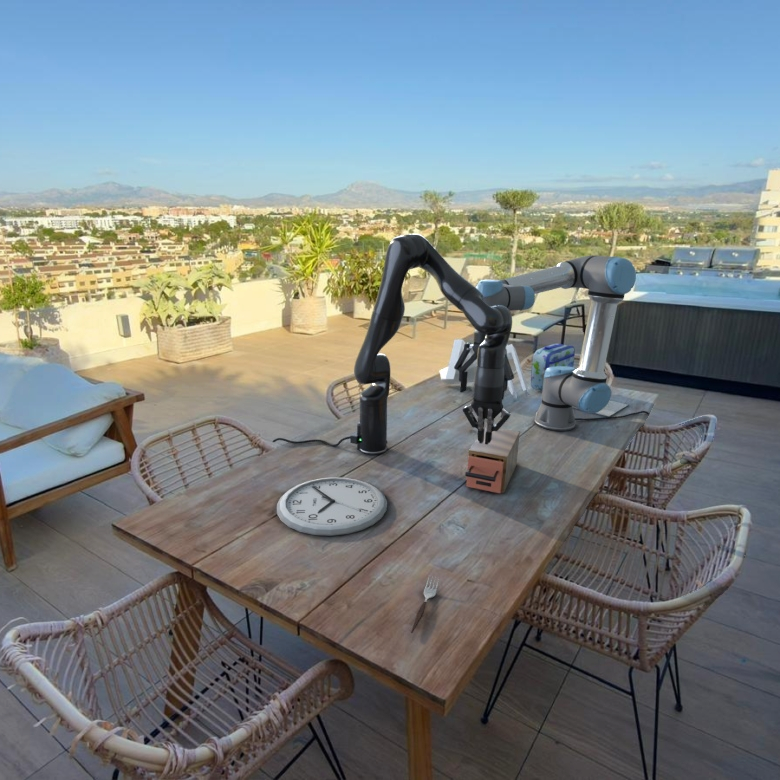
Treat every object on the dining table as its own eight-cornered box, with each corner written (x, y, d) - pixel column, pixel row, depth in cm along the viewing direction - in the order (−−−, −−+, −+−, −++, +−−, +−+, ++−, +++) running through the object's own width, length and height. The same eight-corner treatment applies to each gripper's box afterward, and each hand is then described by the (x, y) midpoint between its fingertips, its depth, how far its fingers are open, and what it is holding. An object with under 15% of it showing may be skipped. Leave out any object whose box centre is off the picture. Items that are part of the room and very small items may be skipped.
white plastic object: (461, 429, 252) (437, 405, 227) (444, 352, 274) (420, 323, 250) (535, 404, 240) (518, 377, 215) (510, 326, 262) (492, 293, 237)
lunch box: (547, 395, 239) (552, 351, 233) (526, 390, 247) (530, 347, 240) (574, 384, 257) (579, 343, 251) (554, 380, 264) (558, 339, 258)
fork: (404, 633, 98) (405, 624, 97) (428, 582, 112) (428, 574, 112) (418, 637, 97) (418, 628, 97) (440, 584, 111) (440, 576, 111)
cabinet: (503, 492, 151) (507, 456, 148) (466, 485, 155) (468, 450, 152) (516, 464, 170) (519, 431, 166) (483, 458, 174) (485, 426, 170)
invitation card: (608, 416, 214) (573, 407, 224) (608, 416, 214) (573, 408, 224) (628, 404, 229) (594, 396, 238) (628, 405, 229) (594, 397, 238)
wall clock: (392, 527, 129) (268, 531, 127) (391, 533, 130) (269, 537, 127) (383, 473, 158) (282, 475, 155) (383, 478, 158) (282, 480, 156)
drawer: (495, 502, 144) (498, 472, 141) (460, 495, 147) (462, 465, 144) (512, 465, 166) (515, 438, 163) (482, 460, 170) (484, 433, 167)
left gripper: (460, 382, 137) (456, 443, 142) (512, 389, 132) (506, 452, 137) (467, 375, 143) (463, 434, 149) (517, 381, 139) (511, 442, 144)
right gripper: (446, 327, 167) (442, 390, 173) (518, 338, 152) (511, 406, 159) (458, 324, 173) (454, 385, 179) (529, 334, 158) (522, 401, 164)
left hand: (484, 442), depth 143 cm, fingers closed
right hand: (481, 395), depth 169 cm, fingers open, 13 cm apart
